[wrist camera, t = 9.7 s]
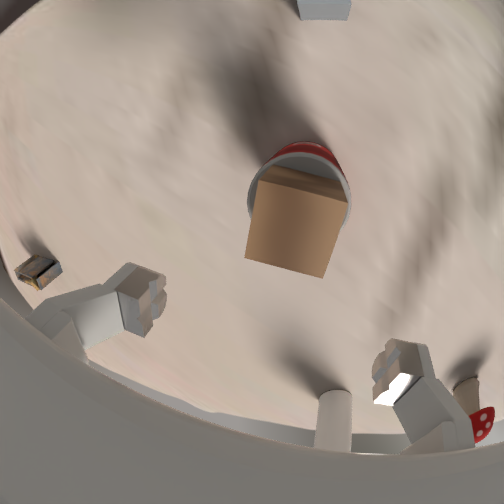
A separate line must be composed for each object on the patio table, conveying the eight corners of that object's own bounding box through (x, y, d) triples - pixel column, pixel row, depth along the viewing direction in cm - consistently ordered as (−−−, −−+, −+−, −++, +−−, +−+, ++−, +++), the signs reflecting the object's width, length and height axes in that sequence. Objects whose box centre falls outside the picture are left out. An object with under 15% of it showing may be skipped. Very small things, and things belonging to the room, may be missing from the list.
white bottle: (312, 396, 48) (293, 512, 26) (340, 385, 44) (329, 510, 23) (331, 408, 49) (318, 515, 28) (358, 398, 46) (351, 513, 24)
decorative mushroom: (452, 401, 42) (462, 454, 29) (440, 391, 41) (450, 450, 28) (487, 379, 37) (502, 432, 24) (478, 366, 36) (496, 425, 23)
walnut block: (341, 181, 18) (348, 203, 14) (322, 242, 21) (322, 278, 16) (272, 164, 19) (258, 179, 14) (260, 226, 21) (244, 257, 17)
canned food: (256, 167, 30) (226, 194, 21) (312, 126, 26) (311, 130, 17) (296, 219, 32) (286, 267, 22) (353, 182, 28) (370, 217, 19)
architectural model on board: (59, 259, 47) (29, 283, 39) (63, 271, 49) (35, 295, 40) (34, 252, 49) (7, 272, 41) (38, 263, 51) (12, 284, 42)
